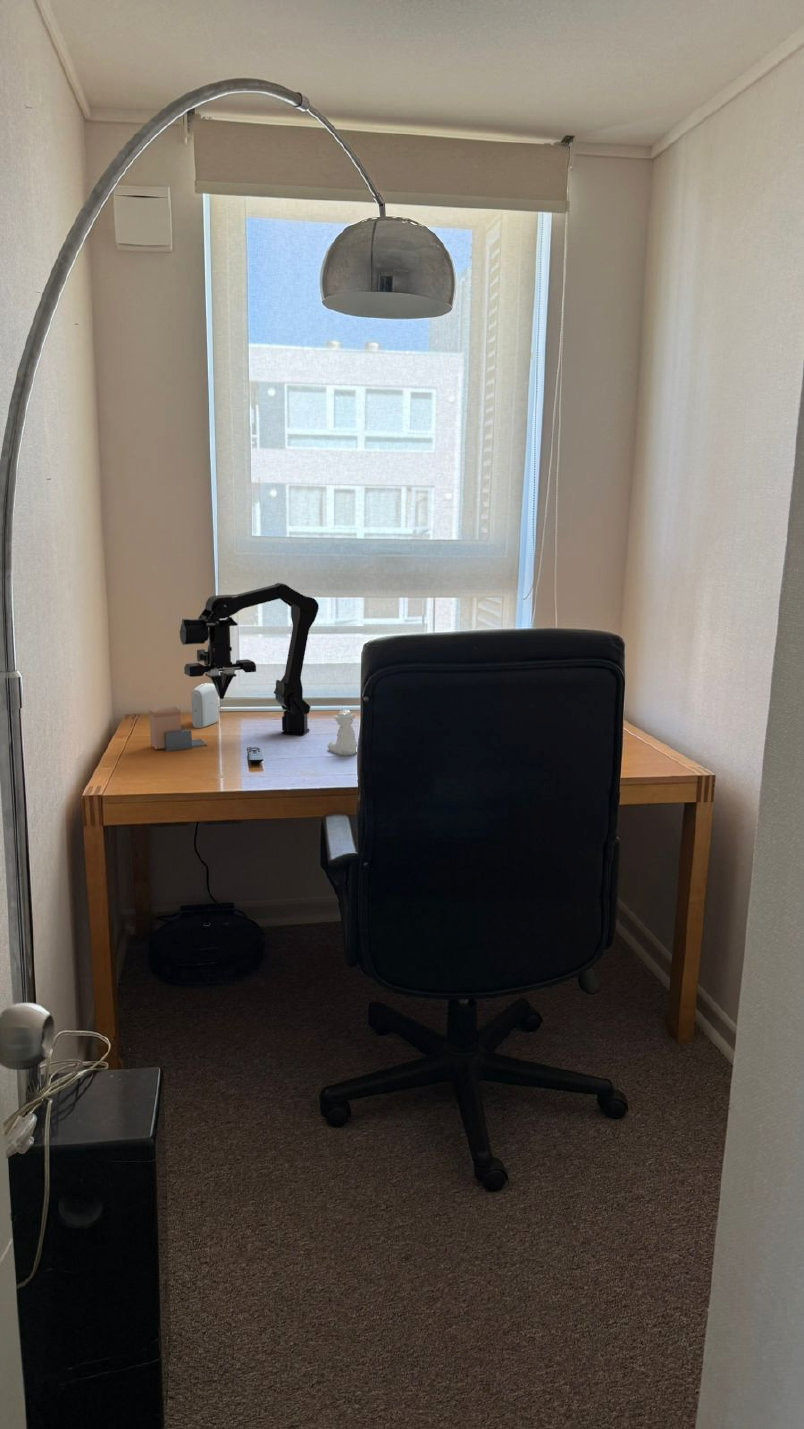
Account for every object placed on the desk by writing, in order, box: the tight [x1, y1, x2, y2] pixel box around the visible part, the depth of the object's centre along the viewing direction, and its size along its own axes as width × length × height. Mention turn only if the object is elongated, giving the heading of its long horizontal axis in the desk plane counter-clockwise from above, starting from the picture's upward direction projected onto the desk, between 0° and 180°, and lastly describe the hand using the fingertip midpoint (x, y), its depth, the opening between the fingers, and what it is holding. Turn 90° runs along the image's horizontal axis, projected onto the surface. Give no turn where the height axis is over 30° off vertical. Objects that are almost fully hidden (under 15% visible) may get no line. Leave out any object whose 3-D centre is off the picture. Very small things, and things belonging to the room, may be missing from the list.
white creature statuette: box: [327, 709, 358, 757], centre depth 254 cm, size 10×9×12 cm
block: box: [148, 706, 182, 750], centre depth 258 cm, size 7×5×10 cm
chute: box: [162, 723, 208, 752], centre depth 260 cm, size 12×8×5 cm
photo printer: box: [190, 682, 220, 729], centre depth 284 cm, size 10×4×12 cm, turn 160°
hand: (221, 698), depth 264 cm, fingers closed
